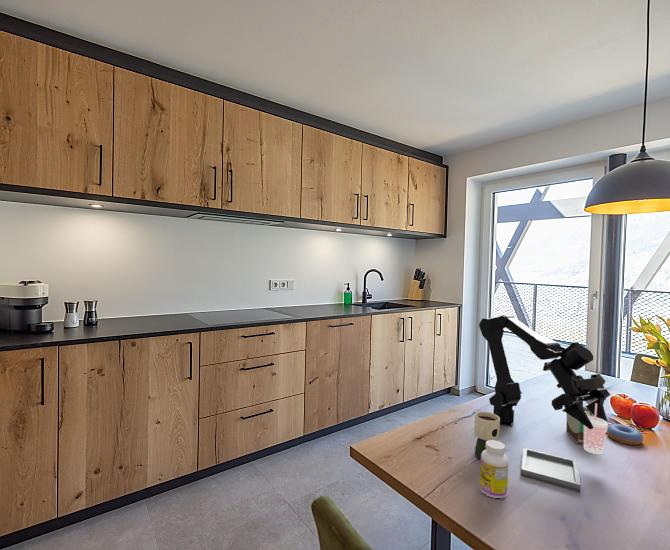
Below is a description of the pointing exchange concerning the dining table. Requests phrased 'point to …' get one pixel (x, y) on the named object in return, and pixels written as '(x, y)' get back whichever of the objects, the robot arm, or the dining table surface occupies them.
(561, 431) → the dining table surface
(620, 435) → the doughnut
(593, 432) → the beverage cup
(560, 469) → the tray
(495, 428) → the character mug
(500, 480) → the supplement bottle
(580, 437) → the food container
